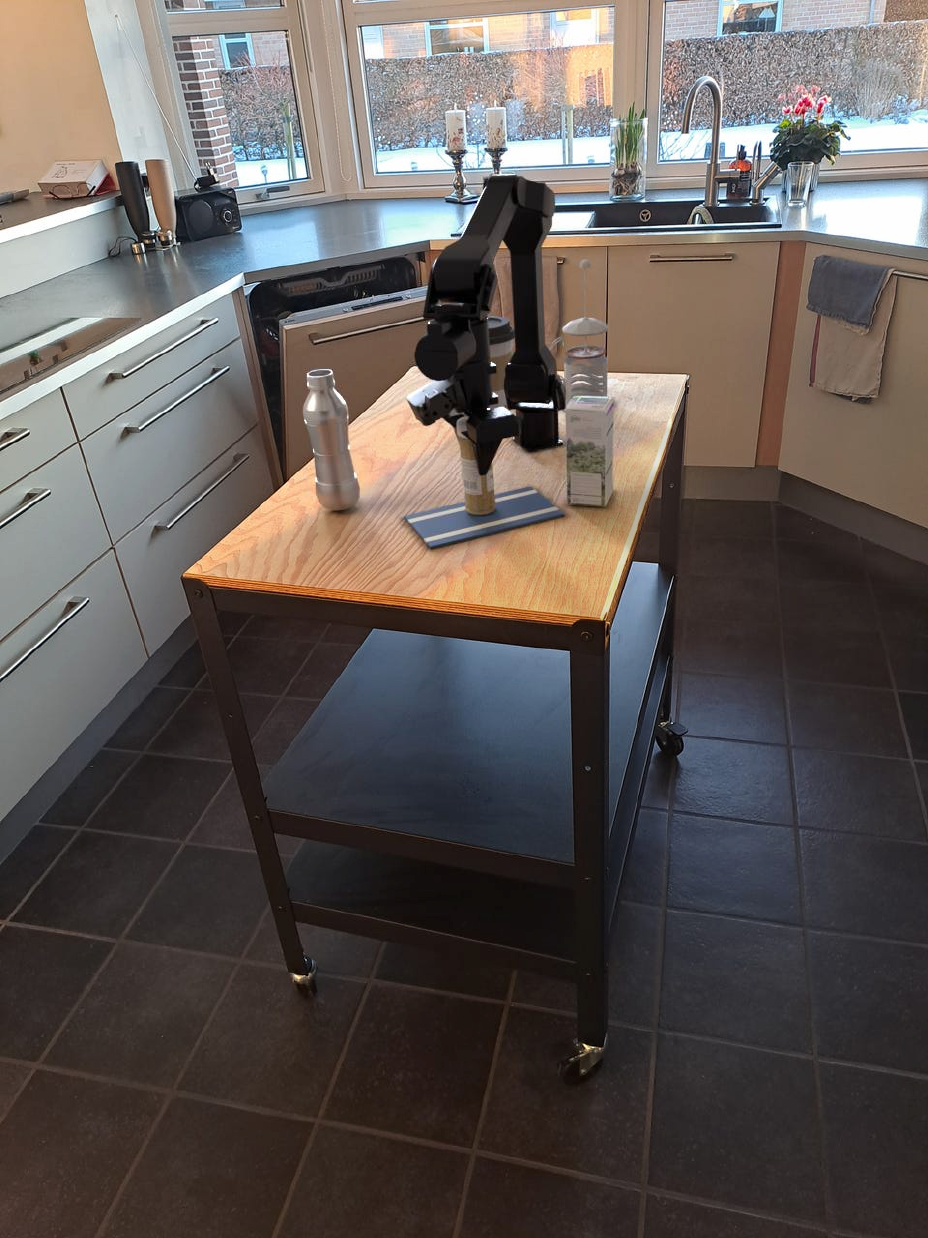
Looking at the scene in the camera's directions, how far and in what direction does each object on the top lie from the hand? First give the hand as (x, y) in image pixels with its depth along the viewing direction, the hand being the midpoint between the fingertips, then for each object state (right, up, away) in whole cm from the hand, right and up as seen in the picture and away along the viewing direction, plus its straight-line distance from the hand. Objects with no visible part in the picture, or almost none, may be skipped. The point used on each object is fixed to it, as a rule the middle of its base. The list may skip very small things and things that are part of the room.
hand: (476, 469), depth 128 cm
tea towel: (+1, -6, +2) cm, 7 cm away
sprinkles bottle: (+1, -5, +3) cm, 6 cm away
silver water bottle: (-20, -4, +9) cm, 23 cm away
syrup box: (+16, -4, +5) cm, 18 cm away
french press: (+20, +18, +40) cm, 48 cm away
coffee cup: (+3, +19, +44) cm, 48 cm away
